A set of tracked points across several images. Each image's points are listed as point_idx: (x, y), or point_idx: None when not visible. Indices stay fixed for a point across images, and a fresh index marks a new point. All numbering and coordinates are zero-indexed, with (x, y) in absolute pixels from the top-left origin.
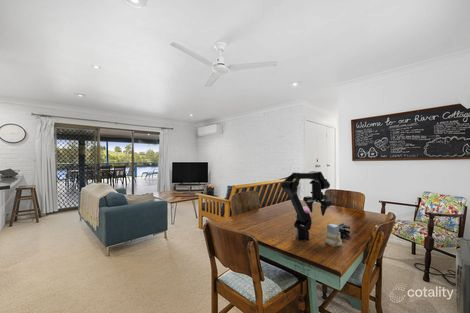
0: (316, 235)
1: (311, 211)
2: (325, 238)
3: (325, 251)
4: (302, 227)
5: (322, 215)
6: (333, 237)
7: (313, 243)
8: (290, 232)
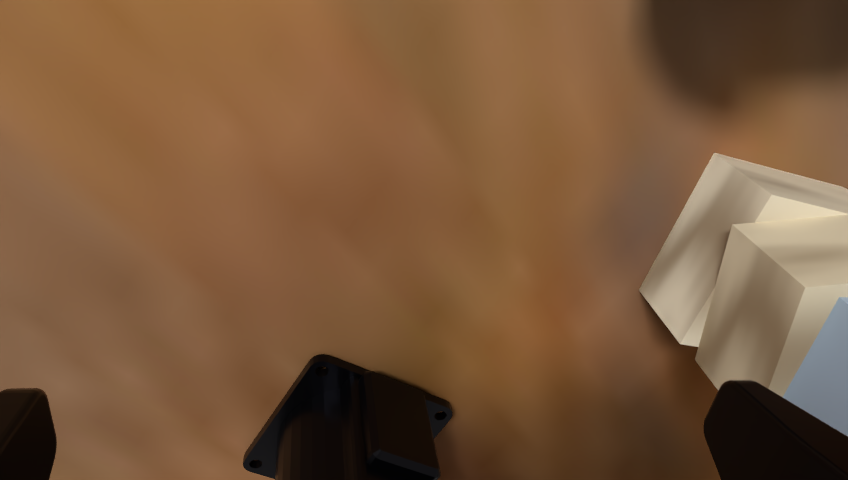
0: (399, 182)
1: (39, 470)
2: (670, 329)
3: None
4: None
5: (727, 445)
6: None
7: (538, 420)
8: None
